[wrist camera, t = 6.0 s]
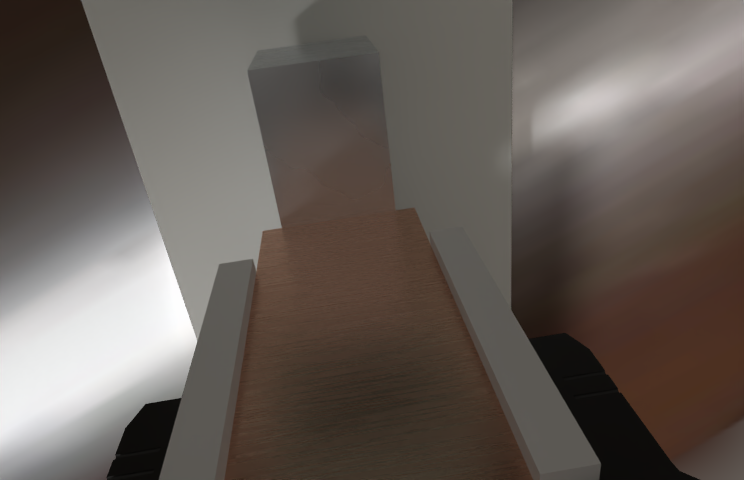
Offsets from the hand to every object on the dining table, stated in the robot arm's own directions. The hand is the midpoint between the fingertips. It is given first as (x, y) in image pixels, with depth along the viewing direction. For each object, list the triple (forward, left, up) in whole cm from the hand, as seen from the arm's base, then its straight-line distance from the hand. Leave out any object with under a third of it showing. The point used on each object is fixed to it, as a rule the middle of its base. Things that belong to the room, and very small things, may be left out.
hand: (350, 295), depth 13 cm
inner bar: (-3, 0, -5) cm, 6 cm away
